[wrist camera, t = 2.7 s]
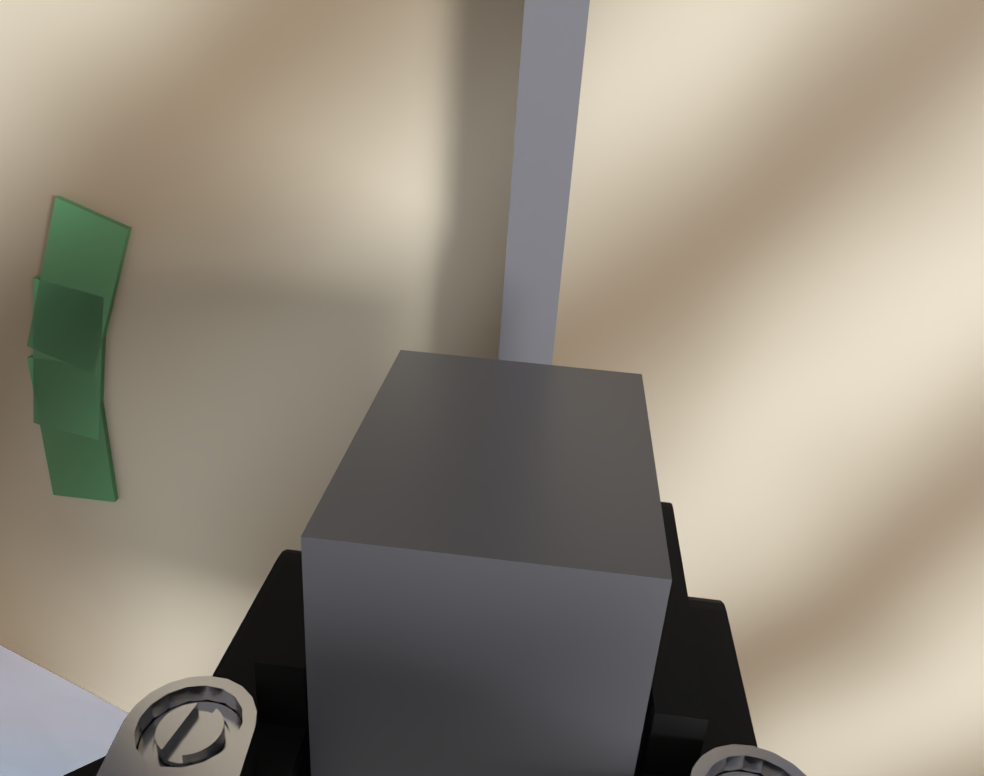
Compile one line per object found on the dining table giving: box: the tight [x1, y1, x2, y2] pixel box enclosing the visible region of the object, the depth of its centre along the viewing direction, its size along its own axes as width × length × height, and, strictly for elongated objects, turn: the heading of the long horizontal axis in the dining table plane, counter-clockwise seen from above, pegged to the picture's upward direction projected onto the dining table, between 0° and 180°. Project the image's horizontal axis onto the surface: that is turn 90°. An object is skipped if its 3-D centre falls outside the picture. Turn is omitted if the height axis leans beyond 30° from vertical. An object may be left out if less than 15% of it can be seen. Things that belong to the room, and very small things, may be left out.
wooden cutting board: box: [0, 0, 984, 776], centre depth 15 cm, size 24×20×2 cm
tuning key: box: [301, 0, 672, 776], centre depth 10 cm, size 12×3×7 cm, turn 176°
